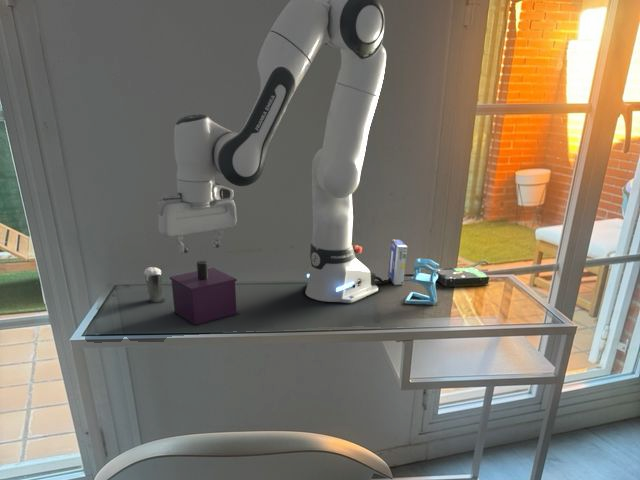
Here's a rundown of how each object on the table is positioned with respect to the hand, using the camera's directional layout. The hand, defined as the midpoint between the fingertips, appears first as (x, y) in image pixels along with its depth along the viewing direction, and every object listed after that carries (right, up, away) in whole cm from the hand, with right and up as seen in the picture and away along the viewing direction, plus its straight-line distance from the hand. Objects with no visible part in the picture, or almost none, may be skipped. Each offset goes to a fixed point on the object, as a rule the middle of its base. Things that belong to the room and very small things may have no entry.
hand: (200, 249), depth 148 cm
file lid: (0, -7, +4) cm, 8 cm away
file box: (0, -14, +9) cm, 17 cm away
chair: (+60, -8, +22) cm, 64 cm away
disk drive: (+75, +2, +39) cm, 84 cm away
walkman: (+54, +1, +37) cm, 65 cm away
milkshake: (-15, -10, +16) cm, 24 cm away
